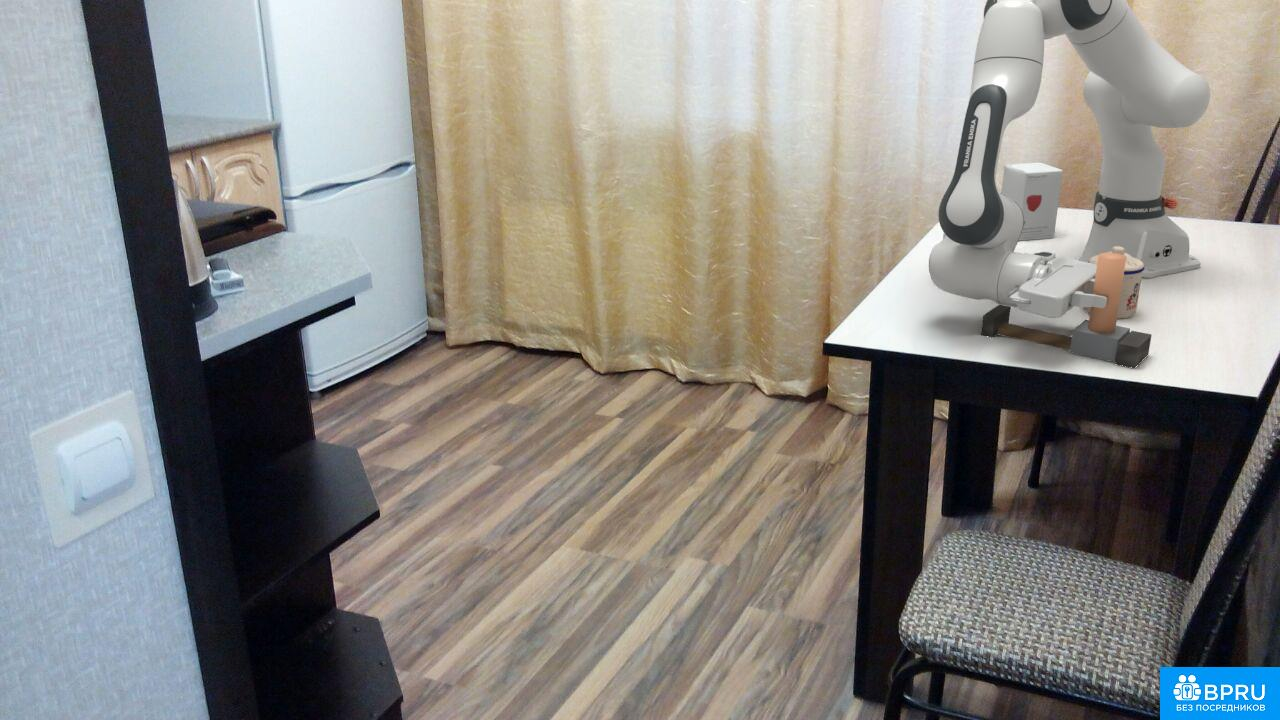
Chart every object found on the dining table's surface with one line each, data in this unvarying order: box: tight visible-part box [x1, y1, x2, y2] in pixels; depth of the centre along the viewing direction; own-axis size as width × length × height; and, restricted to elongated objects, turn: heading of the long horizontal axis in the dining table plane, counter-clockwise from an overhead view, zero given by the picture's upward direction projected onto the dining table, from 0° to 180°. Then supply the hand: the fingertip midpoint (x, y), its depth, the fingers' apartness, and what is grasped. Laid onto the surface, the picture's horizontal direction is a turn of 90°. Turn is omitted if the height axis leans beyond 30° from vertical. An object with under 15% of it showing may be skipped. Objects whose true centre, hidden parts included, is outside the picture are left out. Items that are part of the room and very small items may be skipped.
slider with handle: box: [1069, 253, 1131, 363], centre depth 172 cm, size 7×6×16 cm
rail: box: [980, 304, 1152, 369], centre depth 178 cm, size 25×7×4 cm, turn 51°
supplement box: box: [1000, 162, 1064, 242], centre depth 237 cm, size 9×9×15 cm
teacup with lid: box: [1082, 246, 1144, 320], centre depth 192 cm, size 12×9×12 cm
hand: (1112, 297), depth 171 cm, fingers closed on slider with handle, 4 cm apart
